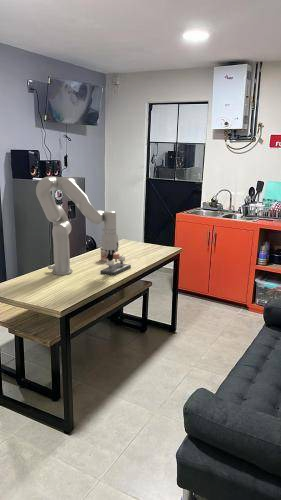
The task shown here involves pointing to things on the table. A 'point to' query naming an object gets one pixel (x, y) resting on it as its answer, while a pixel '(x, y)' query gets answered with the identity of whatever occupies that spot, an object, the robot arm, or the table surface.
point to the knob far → (121, 259)
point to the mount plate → (115, 269)
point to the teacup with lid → (104, 255)
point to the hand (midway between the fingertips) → (110, 260)
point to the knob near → (110, 263)
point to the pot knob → (115, 256)
